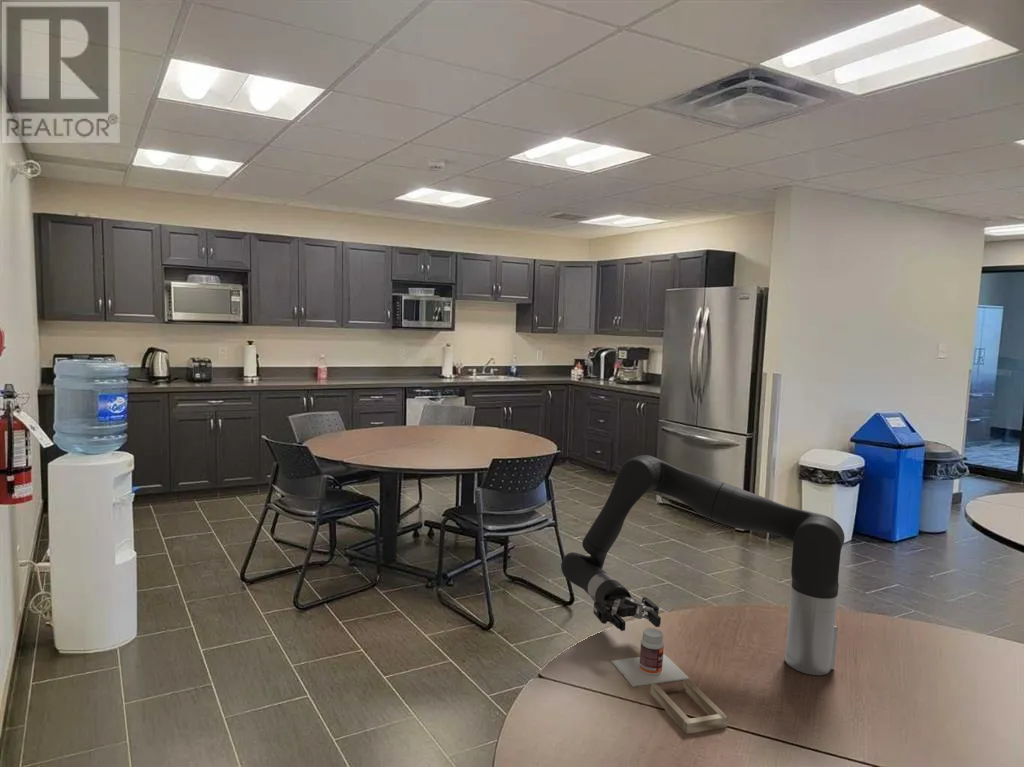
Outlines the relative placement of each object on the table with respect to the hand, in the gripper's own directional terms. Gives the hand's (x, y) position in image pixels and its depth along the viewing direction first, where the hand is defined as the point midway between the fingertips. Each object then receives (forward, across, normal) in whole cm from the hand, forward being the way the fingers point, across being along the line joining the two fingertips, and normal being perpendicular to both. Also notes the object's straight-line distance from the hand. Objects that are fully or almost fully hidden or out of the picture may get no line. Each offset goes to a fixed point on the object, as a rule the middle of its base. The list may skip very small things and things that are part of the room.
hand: (641, 624), depth 142 cm
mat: (+4, 0, +8) cm, 9 cm away
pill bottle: (+5, 0, +8) cm, 9 cm away
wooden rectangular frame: (+19, 0, +8) cm, 20 cm away
